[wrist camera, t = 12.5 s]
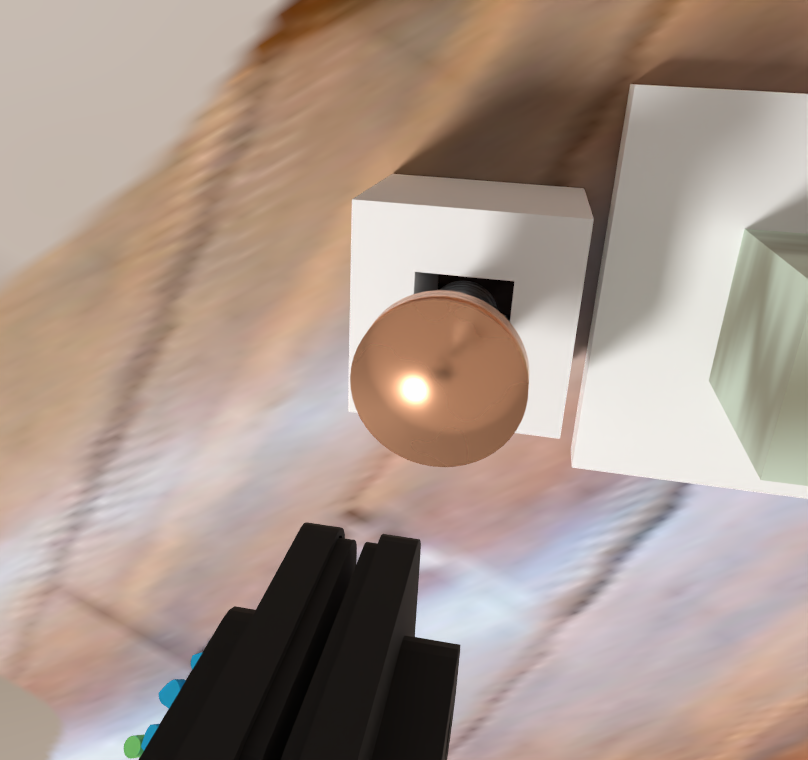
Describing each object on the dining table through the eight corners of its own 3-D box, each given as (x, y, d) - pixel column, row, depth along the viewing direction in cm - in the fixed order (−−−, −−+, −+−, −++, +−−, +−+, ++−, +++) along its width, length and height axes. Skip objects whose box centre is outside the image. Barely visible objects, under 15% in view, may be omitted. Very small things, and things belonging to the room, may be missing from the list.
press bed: (396, 71, 25) (354, 70, 20) (1100, 109, 22) (1282, 121, 16) (382, 424, 31) (346, 500, 25) (940, 497, 28) (1036, 601, 22)
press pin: (399, 239, 22) (352, 292, 17) (541, 252, 22) (539, 312, 16) (393, 369, 24) (348, 454, 19) (524, 384, 23) (517, 477, 18)
